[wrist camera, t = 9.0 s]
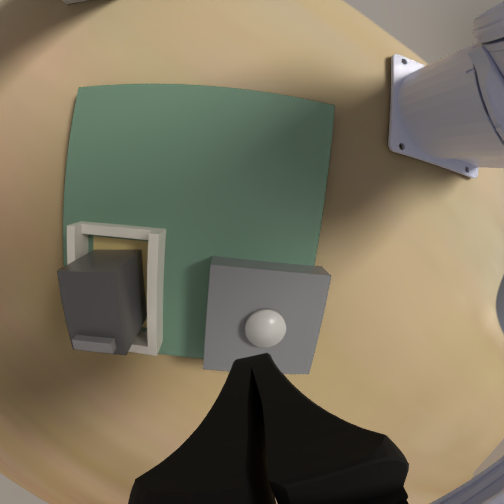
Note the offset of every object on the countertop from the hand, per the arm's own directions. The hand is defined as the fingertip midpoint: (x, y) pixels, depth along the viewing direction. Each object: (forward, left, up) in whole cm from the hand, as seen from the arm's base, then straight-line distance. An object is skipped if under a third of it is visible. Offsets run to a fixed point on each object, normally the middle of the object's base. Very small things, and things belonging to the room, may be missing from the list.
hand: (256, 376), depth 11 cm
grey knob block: (-1, +1, -10) cm, 10 cm away
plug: (+8, 0, -9) cm, 12 cm away
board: (+4, -4, -10) cm, 11 cm away
